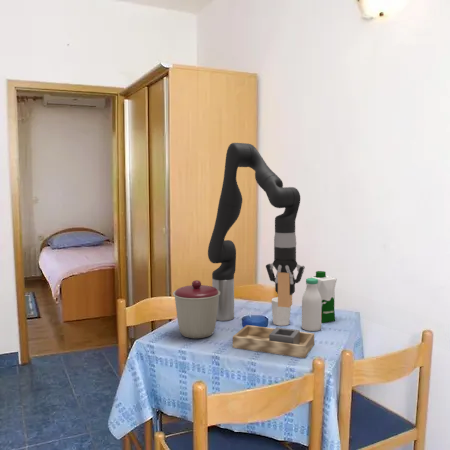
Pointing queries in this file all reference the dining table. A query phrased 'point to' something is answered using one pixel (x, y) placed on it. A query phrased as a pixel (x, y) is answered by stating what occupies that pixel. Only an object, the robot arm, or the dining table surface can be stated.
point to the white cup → (280, 313)
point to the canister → (196, 309)
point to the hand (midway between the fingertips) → (285, 293)
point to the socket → (285, 335)
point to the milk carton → (326, 295)
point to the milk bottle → (311, 306)
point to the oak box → (271, 342)
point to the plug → (284, 290)
